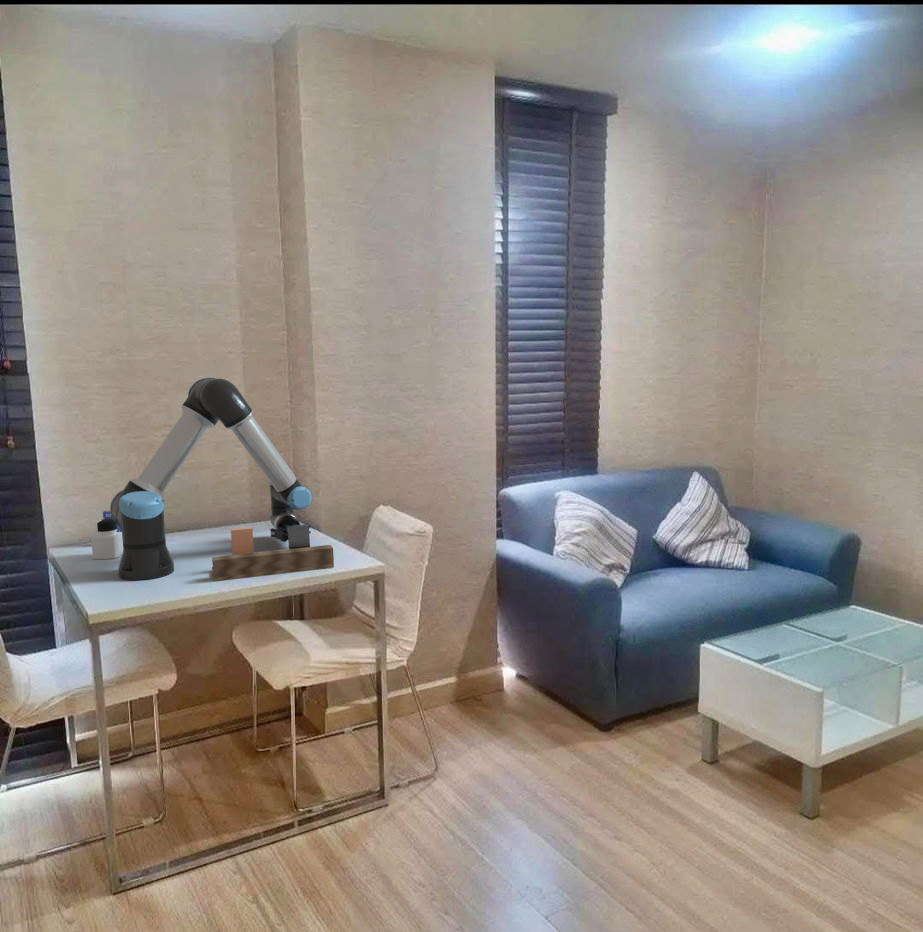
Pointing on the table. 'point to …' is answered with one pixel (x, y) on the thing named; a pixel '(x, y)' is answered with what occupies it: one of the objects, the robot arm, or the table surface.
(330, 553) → the brown piece
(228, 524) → the table surface
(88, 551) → the table surface
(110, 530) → the medicine bottle
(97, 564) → the table surface
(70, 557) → the table surface
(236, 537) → the terracotta key
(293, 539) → the grey rectangular slab
